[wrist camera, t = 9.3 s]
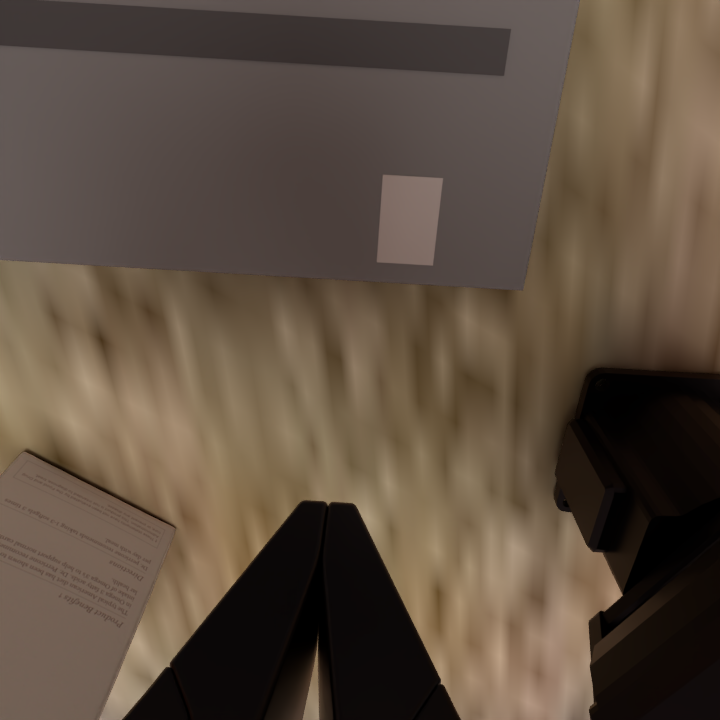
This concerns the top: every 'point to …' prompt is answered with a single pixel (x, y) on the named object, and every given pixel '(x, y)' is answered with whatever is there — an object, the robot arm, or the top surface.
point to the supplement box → (68, 590)
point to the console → (281, 135)
